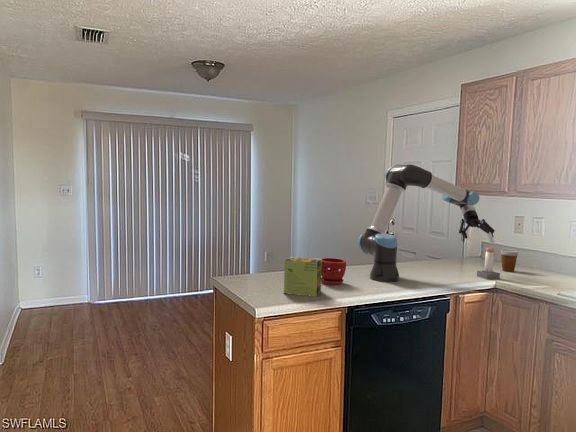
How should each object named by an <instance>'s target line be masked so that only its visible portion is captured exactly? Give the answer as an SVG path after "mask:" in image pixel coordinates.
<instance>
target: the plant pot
mask: <svg viewBox="0 0 576 432" xmlns="http://www.w3.org/2000/svg"><path fill="white" fill-rule="evenodd" d="M321 259H322V270H321V284H324V285H330V286H338V285H341V284H342V283H343V282H344V279H343V278H344V277H345V274H346V269H347V260H345V259H343V258H335V257H324V258H323V257H322V258H321Z"/></svg>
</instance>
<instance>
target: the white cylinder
mask: <svg viewBox="0 0 576 432" xmlns="http://www.w3.org/2000/svg"><path fill="white" fill-rule="evenodd" d="M494 252H495V247H485V254H484V255H485V257H484V269H483V270H484V272H486V273H493V271H494V255H495V254H494Z"/></svg>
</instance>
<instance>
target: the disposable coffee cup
mask: <svg viewBox="0 0 576 432" xmlns="http://www.w3.org/2000/svg"><path fill="white" fill-rule="evenodd" d="M518 255H519V252H518V251H517V250H513V249H501V250H500V256H501V259H500V260H501V270H502V271H503V272H506V273H507V272H508V273H514V272H515V269H516V263H517V258H518Z"/></svg>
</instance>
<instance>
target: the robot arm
mask: <svg viewBox="0 0 576 432" xmlns="http://www.w3.org/2000/svg"><path fill="white" fill-rule="evenodd" d="M384 177H385V186H386V188H385V191H384V193H383V196H382V198H381V201H380V203H379V205H378V208H377V210H376V213H375V215H374V218H373V220H372V222H371V225H370V226H369V227H366V229H365V232H363V233H362V234H360V236H359V237H358V240H357V245H358V246H357V247H358V248H359V250H360V251H361V252H362V253H363V254H365V255H368V256H369V255H370V256H373V265H372V267H371V271H370V274H369V279H371V280H373V281H378V282H397V281H399V280H400V274H399V270H398V267H397V259H398V258H397V255H398V239H397V237H396V236H395V235H392V234H388V233H386V231H387V229H388V226H389V224H390V222H391V219H392V216H393V214H394V211H395V210H396V206H397V205H398V201H399V199H400V197H401V195H402V194H403V193H405V192H406V190H407V187H408V186H409V187H410V186H411V187H412V186H413V187H419V188H421V189H429V190H431V191H434V192H436V193H438V194H440V195H441V199H442V200H443V201H445V202H446V203H449V204H452V205H455V206H457V207H459V208H460V211H461V213H462V216H463V218H461V220H460V226H459V230H458V233H459V234H460V235H461V236H463V238H464V239H465V240H466V243H467V245H470V243H471V242H472V241H471V238H470V235H469V233H468V229H470V228H469V227H471V228H477V229H480V230H481V231H483V232H484V233H486V234H487V238H488V239H489V242H490V244H491V245H493V244H494V243H495V239H494V233H495V231H496V230H495V229H494V228H493V227H492V226H491V225H490V224H489V223H488V222H487V221H486V220H485V219H484V218H482V219H480V218H479V215H478V212H477V210H476V208H475V206H474V205H477V204H478V203H479V201H480V194H479V193H478V192H477V191H473V190H471V191H470V190H467V189H465V188H463V187H460V186H458V185H456V184H454V183H452V182H449V181H447V180H445V179H442V178H440V177H438V176H436V175H433V173H432V172H431V171H429V170H428V169H427V170H426V169H425V168H423V167H421V166H419V165H416V164H395V165H391V166H390V167H389V168H388V169H387V170H386V172H385V175H384ZM465 224H467V225H466V226H465ZM464 226H465V228H464Z"/></svg>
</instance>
